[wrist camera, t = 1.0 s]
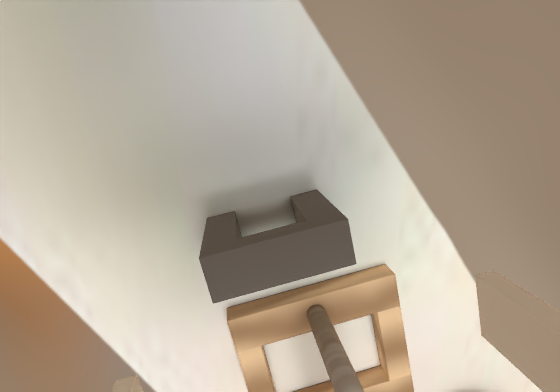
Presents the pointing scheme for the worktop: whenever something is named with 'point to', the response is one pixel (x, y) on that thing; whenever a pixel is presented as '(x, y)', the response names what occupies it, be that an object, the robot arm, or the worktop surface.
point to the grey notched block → (275, 249)
